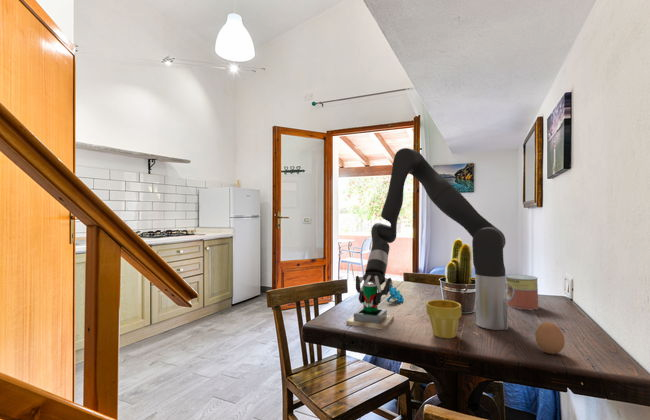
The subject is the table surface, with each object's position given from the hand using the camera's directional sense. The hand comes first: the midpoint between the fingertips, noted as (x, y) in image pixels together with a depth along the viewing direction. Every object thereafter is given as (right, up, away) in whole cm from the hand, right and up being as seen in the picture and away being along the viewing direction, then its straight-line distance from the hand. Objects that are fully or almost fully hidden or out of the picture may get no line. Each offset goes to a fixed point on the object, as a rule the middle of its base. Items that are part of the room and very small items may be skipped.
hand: (368, 302), depth 114 cm
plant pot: (+22, -7, -13) cm, 26 cm away
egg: (+45, -6, -27) cm, 53 cm away
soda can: (+1, -5, +2) cm, 6 cm away
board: (+1, -7, +1) cm, 7 cm away
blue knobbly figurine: (+16, -8, +30) cm, 35 cm away
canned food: (+66, -7, +19) cm, 69 cm away
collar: (+1, -6, +1) cm, 6 cm away
